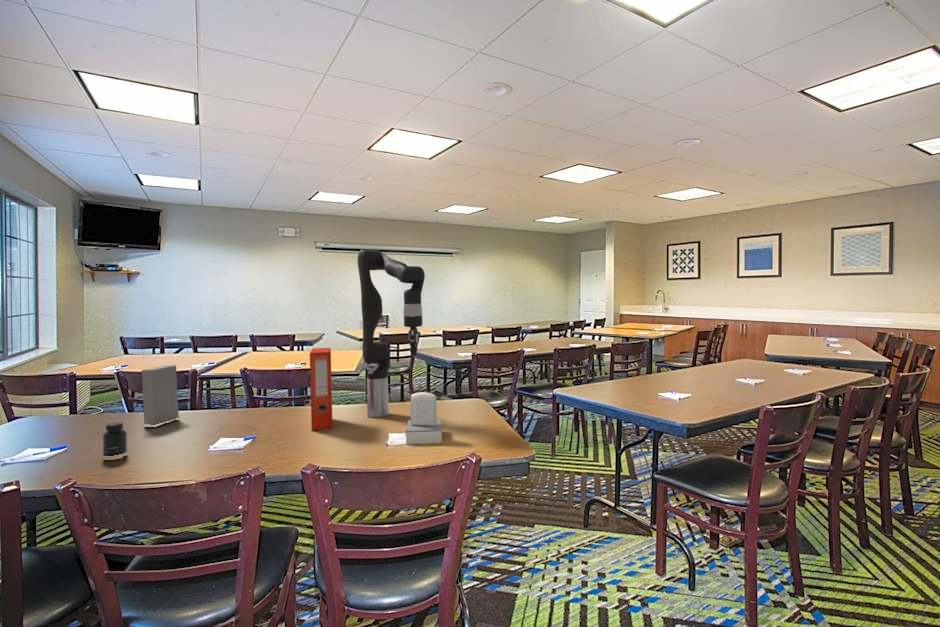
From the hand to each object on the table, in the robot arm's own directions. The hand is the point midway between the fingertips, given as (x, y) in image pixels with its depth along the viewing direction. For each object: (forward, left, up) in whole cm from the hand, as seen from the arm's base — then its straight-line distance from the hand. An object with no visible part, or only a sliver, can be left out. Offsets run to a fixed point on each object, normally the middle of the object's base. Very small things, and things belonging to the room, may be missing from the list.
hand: (414, 354), depth 199 cm
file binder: (-40, +9, -30) cm, 51 cm away
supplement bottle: (-103, -25, -30) cm, 110 cm away
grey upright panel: (-113, +21, -30) cm, 119 cm away
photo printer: (+4, -16, -25) cm, 30 cm away
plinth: (+4, -16, -30) cm, 34 cm away
